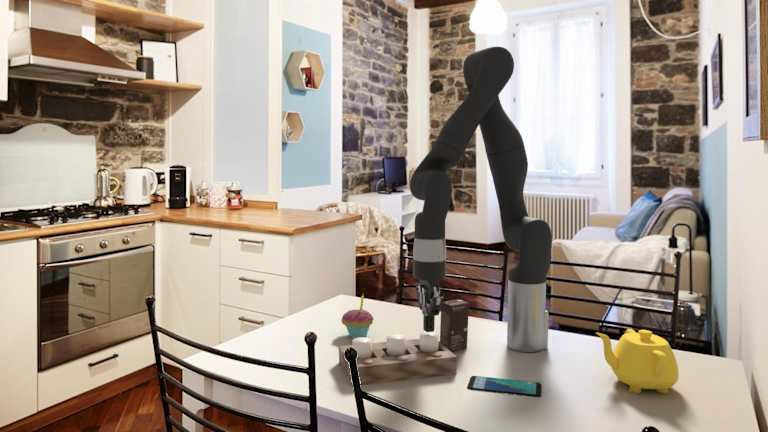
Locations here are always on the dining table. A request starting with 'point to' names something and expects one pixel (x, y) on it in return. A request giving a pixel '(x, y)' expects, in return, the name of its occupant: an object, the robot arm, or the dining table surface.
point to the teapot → (642, 361)
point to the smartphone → (505, 386)
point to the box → (454, 324)
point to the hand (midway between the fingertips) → (428, 330)
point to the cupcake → (357, 321)
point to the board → (401, 363)
